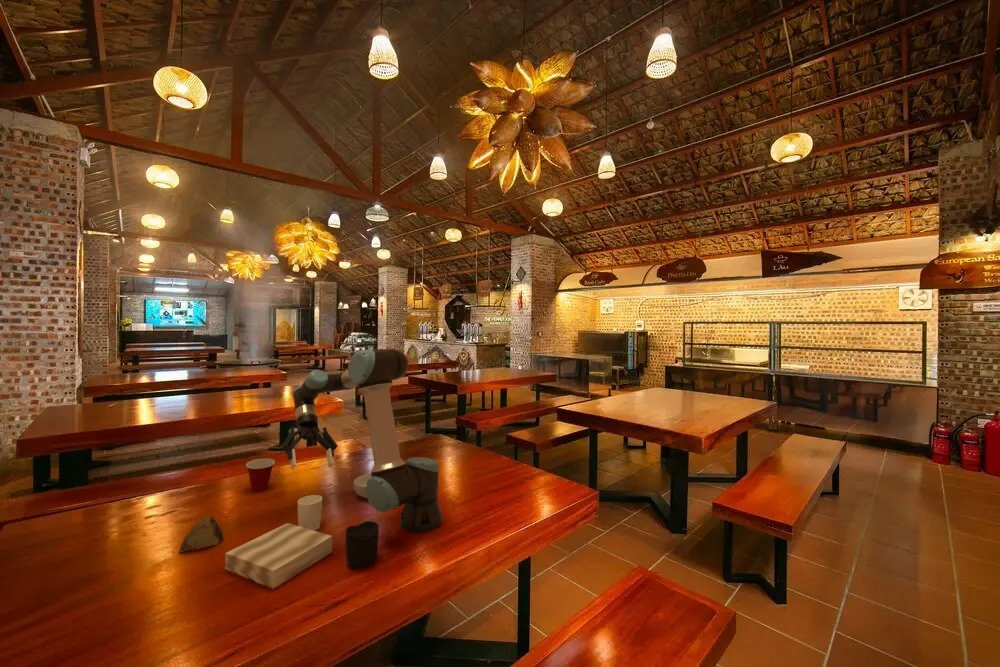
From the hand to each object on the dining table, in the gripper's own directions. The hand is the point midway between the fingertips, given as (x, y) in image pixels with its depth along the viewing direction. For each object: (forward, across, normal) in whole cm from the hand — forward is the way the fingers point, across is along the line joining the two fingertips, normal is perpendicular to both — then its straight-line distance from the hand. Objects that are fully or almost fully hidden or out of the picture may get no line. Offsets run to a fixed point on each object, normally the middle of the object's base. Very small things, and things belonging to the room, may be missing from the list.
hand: (312, 466), depth 147 cm
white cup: (+20, 0, -8) cm, 21 cm away
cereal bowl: (+8, -29, -12) cm, 33 cm away
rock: (+16, +29, -20) cm, 38 cm away
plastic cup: (-14, +3, -43) cm, 46 cm away
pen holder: (+42, -3, +15) cm, 44 cm away
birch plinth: (+32, +14, +1) cm, 35 cm away
